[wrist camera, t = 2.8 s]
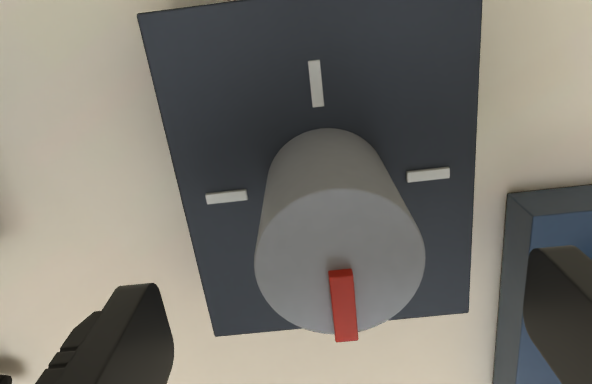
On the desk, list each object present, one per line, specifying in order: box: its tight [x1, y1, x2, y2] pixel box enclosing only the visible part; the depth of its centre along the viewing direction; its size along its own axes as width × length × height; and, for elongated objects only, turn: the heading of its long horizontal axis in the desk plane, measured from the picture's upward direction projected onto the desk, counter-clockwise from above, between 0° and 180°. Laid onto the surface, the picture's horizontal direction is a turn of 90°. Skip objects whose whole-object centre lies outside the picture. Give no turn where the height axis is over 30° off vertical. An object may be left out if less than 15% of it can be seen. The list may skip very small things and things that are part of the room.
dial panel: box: [137, 0, 482, 337], centre depth 16 cm, size 12×10×3 cm
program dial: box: [254, 128, 426, 342], centre depth 12 cm, size 4×4×5 cm
